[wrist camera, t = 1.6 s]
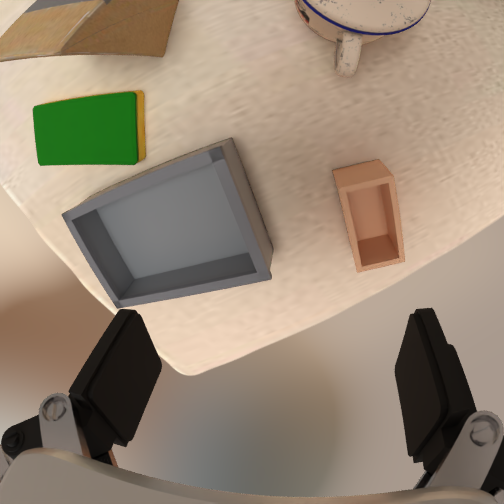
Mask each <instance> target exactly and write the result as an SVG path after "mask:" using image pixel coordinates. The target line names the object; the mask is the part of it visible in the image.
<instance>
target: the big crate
mask: <svg viewBox="0 0 504 504" xmlns="http://www.w3.org/2000/svg"><path fill="white" fill-rule="evenodd" d="M62 217H63V219H64V221H65V222H66V224H67V226H68V228H69V230H70V232H71V234H72V235H73V237H74V239H75V241H76V243H77V244H78V246H79V248H80V250H81V251H82V253H83V255H84V257H85V258H86V260H87V262H88V263H89V265H90V267H91V268H92V270H93V272H94V273H95V275H96V277H97V278H98V280H99V281H100V283H101V285H102V286H103V288H104V289H105V291H106V292H107V294H108V295H109V297H110V299H111V300H112V302H113V303H114V305H115V306H116V308H123V307H129V306H135V305H140V304H146V303H152V302H157V301H163V300H168V299H174V298H179V297H185V296H190V295H195V294H201V293H206V292H211V291H216V290H221V289H227V288H232V287H237V286H242V285H247V284H252V283H256V282H261V281H266V280H271V279H272V274H271V272H270V267H271V261H272V255H273V247H272V244H271V241H270V238H269V236H268V233H267V230H266V227H265V225H264V222H263V219H262V216H261V214H260V211H259V208H258V206H257V203H256V200H255V198H254V195H253V192H252V189H251V187H250V184H249V181H248V179H247V176H246V173H245V171H244V168H243V166H242V163H241V160H240V158H239V155H238V152H237V150H236V147H235V145H234V142H233V139H232V138H229V139H226V140H223V141H221V142H218V143H215V144H212V145H209V146H207V147H204V148H201V149H199V150H196V151H193V152H191V153H188V154H185V155H183V156H180V157H178V158H175V159H173V160H170V161H168V162H165V163H163V164H160V165H158V166H156V167H153V168H151V169H149V170H146V171H144V172H142V173H139V174H137V175H135V176H132V177H130V178H128V179H126V180H124V181H121V182H119V183H117V184H115V185H113V186H111V187H108V188H106V189H104V190H102V191H100V192H98V193H96V194H94V195H92V196H90V197H88V198H87V199H85V200H84V201H83V202H81V203H80V204H79V205H77V206H76V207H74V208H72V209H70V210H68V211H66V212H64V213H63V214H62Z"/></svg>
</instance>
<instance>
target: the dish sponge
mask: <svg viewBox="0 0 504 504" xmlns="http://www.w3.org/2000/svg"><path fill="white" fill-rule="evenodd" d="M33 120H34V132H35V142H36V150H37V158H38V163H39V165H40V166H45V165H135V164H136V163H138V162H140V161H142V160H143V159H144V158H145V157H146V152H145V125H144V93H143V92H142V91H141V90H140V91H128V92H117V93H108V94H100V95H92V96H85V97H78V98H72V99H66V100H60V101H55V102H50V103H45V104H41V105H37V106H34V108H33Z"/></svg>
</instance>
